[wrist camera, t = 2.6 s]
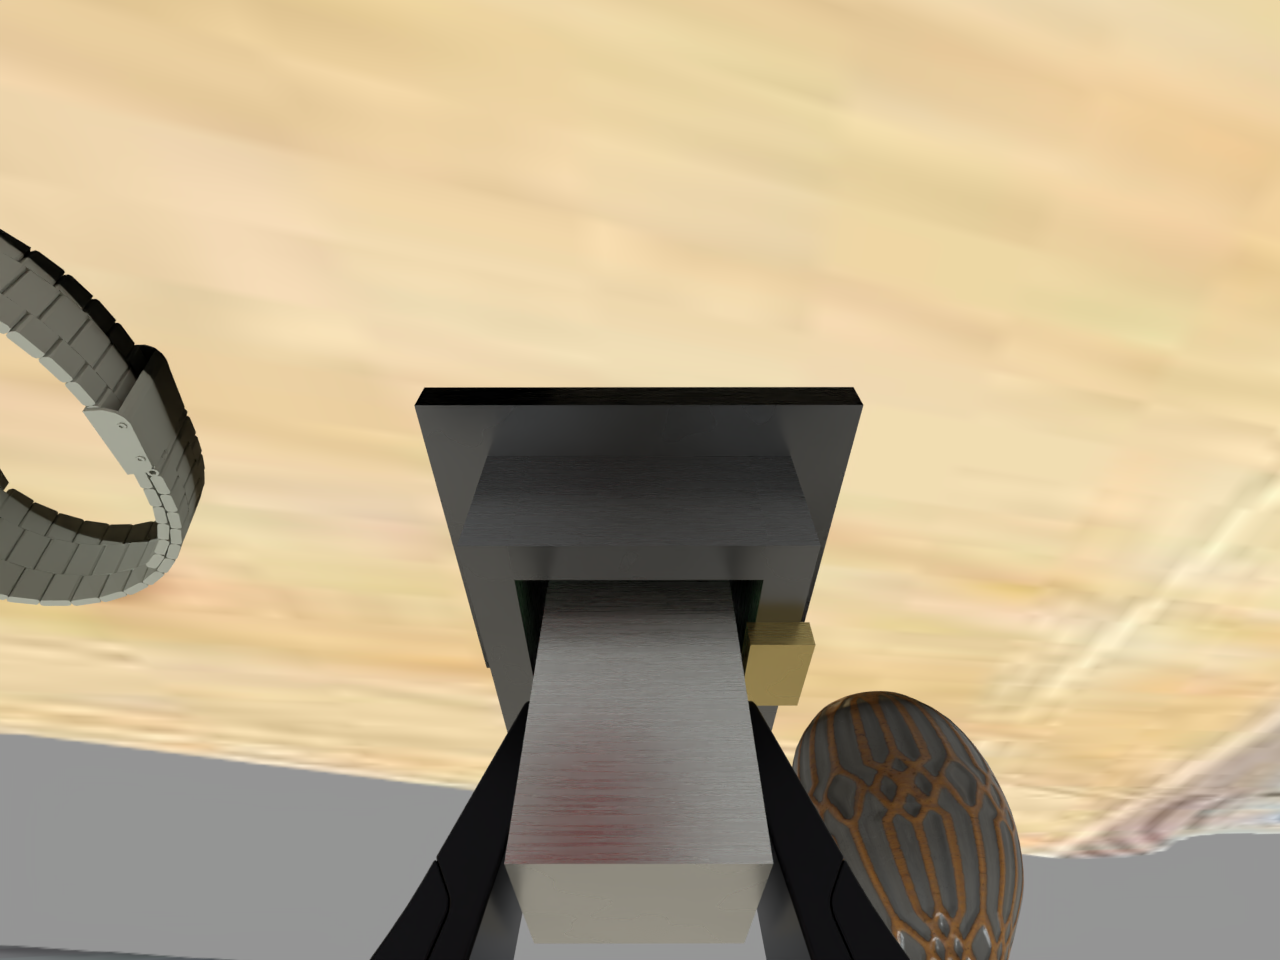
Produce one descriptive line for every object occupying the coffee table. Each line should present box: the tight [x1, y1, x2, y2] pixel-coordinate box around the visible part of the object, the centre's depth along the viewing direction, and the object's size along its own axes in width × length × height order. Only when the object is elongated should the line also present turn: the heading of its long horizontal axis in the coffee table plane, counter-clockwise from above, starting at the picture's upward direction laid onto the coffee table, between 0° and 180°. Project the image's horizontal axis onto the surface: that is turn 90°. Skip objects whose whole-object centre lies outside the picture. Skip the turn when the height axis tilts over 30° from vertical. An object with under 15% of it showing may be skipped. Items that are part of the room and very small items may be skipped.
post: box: [504, 580, 773, 944], centre depth 13 cm, size 4×4×8 cm
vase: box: [792, 691, 1024, 960], centre depth 20 cm, size 7×7×9 cm
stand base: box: [414, 387, 863, 733], centre depth 15 cm, size 10×10×4 cm
